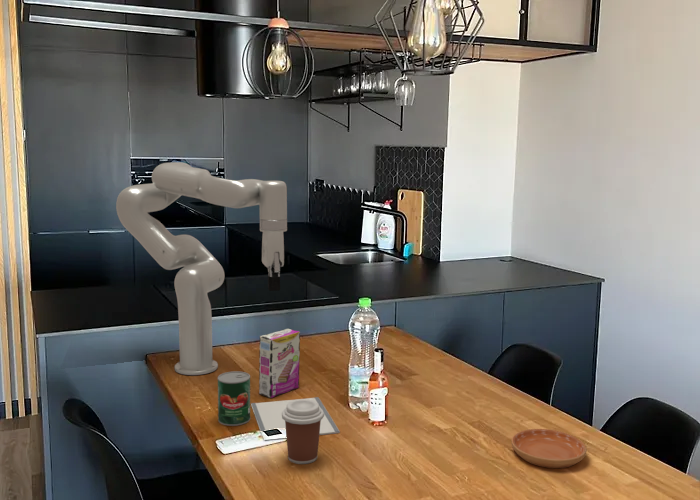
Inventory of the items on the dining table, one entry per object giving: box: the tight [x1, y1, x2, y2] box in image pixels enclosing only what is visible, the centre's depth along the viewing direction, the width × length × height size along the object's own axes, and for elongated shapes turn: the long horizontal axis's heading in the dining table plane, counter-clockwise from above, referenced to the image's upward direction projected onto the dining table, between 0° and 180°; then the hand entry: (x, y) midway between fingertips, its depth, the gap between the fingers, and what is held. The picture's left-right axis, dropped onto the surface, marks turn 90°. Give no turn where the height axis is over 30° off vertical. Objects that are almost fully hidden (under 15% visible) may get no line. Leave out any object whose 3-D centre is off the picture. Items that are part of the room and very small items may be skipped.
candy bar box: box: [258, 328, 301, 399], centre depth 187 cm, size 11×5×16 cm, turn 141°
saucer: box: [511, 428, 588, 469], centre depth 152 cm, size 16×16×3 cm
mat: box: [250, 396, 341, 436], centre depth 170 cm, size 22×18×1 cm
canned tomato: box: [217, 370, 251, 427], centre depth 168 cm, size 8×8×11 cm
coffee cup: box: [282, 398, 324, 465], centre depth 148 cm, size 9×9×12 cm
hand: (274, 290), depth 193 cm, fingers closed
